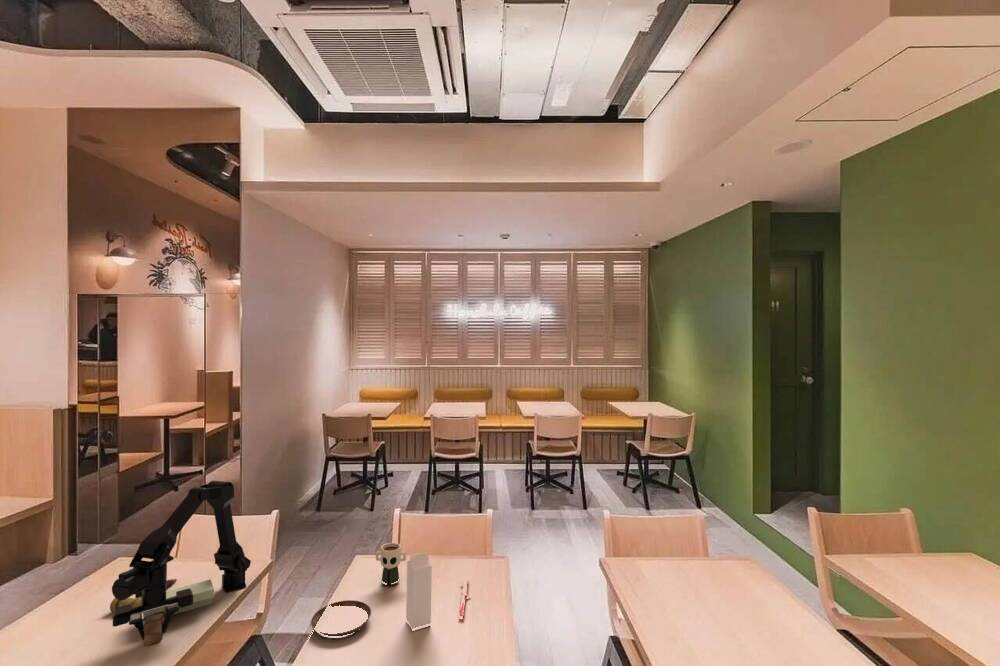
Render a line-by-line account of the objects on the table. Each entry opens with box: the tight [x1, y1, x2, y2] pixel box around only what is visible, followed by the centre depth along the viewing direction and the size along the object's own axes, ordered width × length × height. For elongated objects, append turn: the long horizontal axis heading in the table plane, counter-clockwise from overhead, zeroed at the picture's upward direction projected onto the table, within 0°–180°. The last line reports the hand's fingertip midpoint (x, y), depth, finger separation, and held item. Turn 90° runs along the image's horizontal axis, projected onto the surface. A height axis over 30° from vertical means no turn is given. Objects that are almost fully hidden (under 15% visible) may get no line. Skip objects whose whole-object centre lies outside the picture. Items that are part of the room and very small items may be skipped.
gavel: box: [109, 578, 178, 613], centre depth 162 cm, size 21×5×10 cm
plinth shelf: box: [142, 578, 215, 619], centre depth 152 cm, size 18×8×7 cm, turn 128°
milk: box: [405, 551, 433, 629], centre depth 149 cm, size 6×6×22 cm
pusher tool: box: [143, 611, 164, 646], centre depth 144 cm, size 4×14×6 cm, turn 29°
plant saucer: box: [310, 599, 372, 636], centre depth 149 cm, size 18×18×3 cm
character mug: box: [375, 542, 407, 584], centre depth 174 cm, size 11×7×13 cm, turn 90°
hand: (153, 635), depth 139 cm, fingers closed on pusher tool, 4 cm apart
